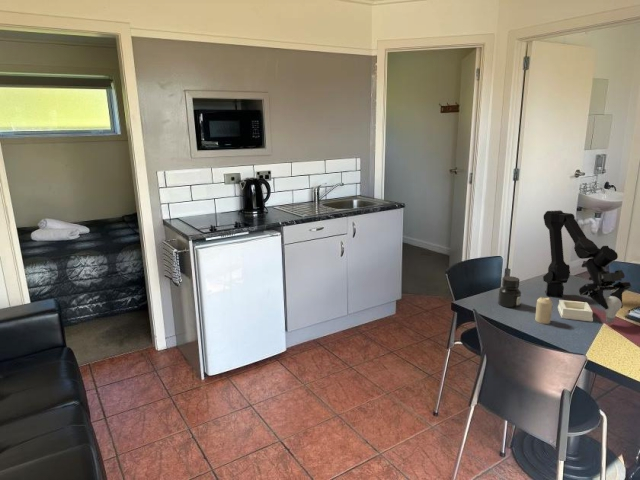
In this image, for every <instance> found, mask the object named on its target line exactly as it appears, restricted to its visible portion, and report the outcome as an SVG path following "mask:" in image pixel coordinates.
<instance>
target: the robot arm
mask: <svg viewBox="0 0 640 480" xmlns="http://www.w3.org/2000/svg"><path fill="white" fill-rule="evenodd" d="M543 221H544V226H545V227H546V228H547V230H549V233H548V234H549V243H550V245H549V246H550V257H551V262H550V263H549V266H548V267H547V273H545V274H544V275H543V276H542V278H543V279H542V280H543V282H545V283H546V288H545V290H544V294H545V295H546V297H552V298H553V297H554V298H563V295H564V292H565V291H564V289H565V286H564V284H567V282H568V280H569V279H570V275H571V271H570V270H571V269H570V264H567V263H566V261H565V259H564V247H563V235H562V230H563V227H564V228H565V230H566V231H567V233H568V235H569V236H570V238H571V240H572V241H573V243H574V247H573V249H574V251H575V254H576V257H577V258H578V259H582V260H583V259H585V260H583V261H582V264H581V268H586V270H587V272H588V274H589V277H588V280H589V281H592V283H585V284H584V285H582V286H581V287H580V288H579V289H578V292H579V294H580V296H587V297H588V298H591V299H592V300H594V301H595V302H596V303H597V304H599V305H600V306H601V307H602V308H603V309H604V310H605V309H608V305H607V303H606V300H605V298H606V297H605V296H604V292H605V291H610V292H611V293H610V294H609V296H615V297H617V298H619V299H620V301H621V303H622V307H621V308H620V309H623V307H624V306H623V293H625V292H626V291H628V290H629V289H630V288H632V287H633V286H632V285H631V283H630V282H629V281H627V280H624V281H623V279H625V277H626V276H625V273H624V271H623V270H622V269H618V270H615V271H614V272H610V271H608V270H606V269H605V267H608V266H609V265H611V264H612V263H613V262H615V261H616V260H617V259H618V257H619V255H618V252H617V251H615V250H614V249H613V248H610V247H609V245H602V246H601V247H600V248H599V247H598V245H597V244H595V243H594V241H593V240H591V239H589V238H588V237H587V236H586V234H585V233H584V232H583V230H582V228H581V227H580V224H579V223H578V221H577V220H576V217H575V214H574V213H569V212H563V210H560V209H559V210H547V211H545V212H544V214H543ZM586 259H587V260H586Z"/></svg>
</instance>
